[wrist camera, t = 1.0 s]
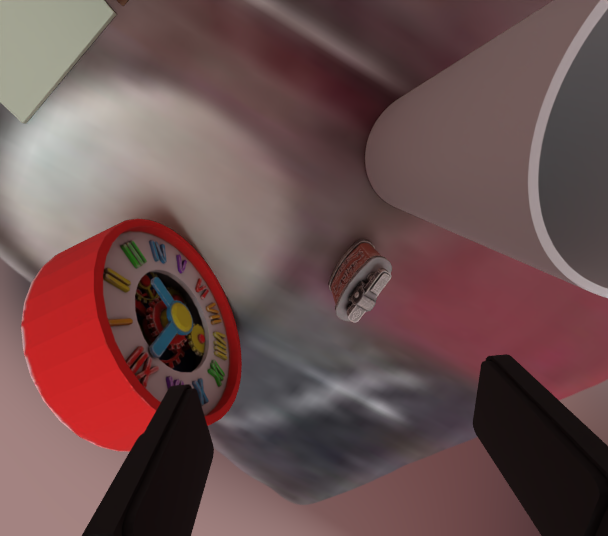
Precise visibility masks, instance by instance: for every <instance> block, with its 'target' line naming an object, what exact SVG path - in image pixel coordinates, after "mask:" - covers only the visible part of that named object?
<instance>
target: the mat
mask: <svg viewBox="0 0 608 536" xmlns="http://www.w3.org/2000/svg"><path fill="white" fill-rule="evenodd" d="M116 15H117V14H116V13H115V12H114V11H113V10H112V9H111V7H110V6H109V5H108V4H107V3H106V1H105V0H0V102H1V103H2V104H3V105H4V106H5V107H6V108H7V109H8V110H9V111H10V112H11V113H12V114H13V115H14V116H15V117H17V118H18V119H19V120H20V121H21V122H22V123H25V124H26V123H27V122H28V121H29V119H30V118H31V117H32V116H33V114H34V113H35V112H36V111H37V110H38V108H39V107H40V106H41V105H42V104H43V102H44V101H45V100H46V99H47V98H48V96H49V95H50V94H51V93H52V92H53V90H54V89H55V88H56V87H57V86H58V84H59V83H60V82H61V81H62V80H63V78H64V77H65V76H66V75H67V74H68V72H69V71H70V70H71V69H72V68H73V66H74V65H75V64H76V63H77V61H78V60H79V59H80V58H81V57H82V55H83V54H84V53H85V52H86V51H87V49H88V48H89V47H90V46H91V45H92V43H93V42H94V41H95V40H96V39H97V37H98V36H99V35H100V34H101V33H102V31H103V30H104V29H105V28H106V27H107V25H108V24H109V23H110V22H111V21H112V19H113V18H114V17H115V16H116Z"/></svg>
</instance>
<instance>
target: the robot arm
mask: <svg viewBox="0 0 608 536" xmlns="http://www.w3.org/2000/svg"><path fill="white" fill-rule="evenodd" d="M473 427H474V430H475V433H476V435H477V436H478V438H479V439H480V441H481V442H482V444H483V445H484V447H485V449H486V450H487V452H488V453H489V455H490V456H491V458H492V459H493V461H494V463H495V464H496V466H497V467H498V468H499V470H500V472H501V473H502V475H503V476H504V478H505V480H506V481H507V483H508V484H509V486H510V487H511V489H512V490H513V492H514V493H515V495H516V497H517V498H518V500H519V501H520V503H521V504H522V506H523V507H524V509H525V511H526V512H527V514H528V515H529V517H530V518H531V520H532V521H533V523H534V525H535V526H536V528H537V529H538V531H539V532H540V534H541V535H542V536H608V446H607V445H606V444H605V443H604V442H603V441H602V440H601V439H599V437H597V436H596V435H595V434H594V433H593V432H592V431H591V430H590V429H589V428H588V427H587V426H586V425H584V424H583V423H582V422H581V421H580V420H579V419H578V418H577V417H576V416H575V415H574V414H573V413H572V412H571V411H569V410H568V409H567V408H566V407H565V406H564V405H563V404H562V403H561V402H560V401H559V400H558V399H557V398H555V397H554V396H553V395H552V394H551V393H550V392H549V391H548V390H547V389H546V388H545V387H544V386H543V385H541V384H540V383H539V382H538V381H537V380H536V379H535V378H534V377H533V376H532V375H531V374H530V373H529V372H527V371H526V370H525V369H524V368H523V367H522V366H521V365H520V364H519V363H518V362H517V361H516V360H515V359H513V358H512V357H511V356H510V355H507V354H506V355H496V356H488V357H487V358H486V361H484V362H482V364H481V370H480V377H479V384H478V390H477V397H476V404H475V411H474V418H473ZM213 451H214V448H213V443H212V440H211V436H210V433H209V430H208V426H207V423H206V419H205V416H204V412H203V409H202V406H201V402H200V399H199V395H198V392H197V390H196V389H195V388H193V389H192V387H191V385H190V384H186V385H175V386H171V387H170V388H169V389H168V391H167V392H166V394H165V396H164V398H163V400H162V401H161V403H160V405H159V407H158V409H157V410H156V412H155V414H154V416H153V417H152V419H151V421H150V423H149V425H148V426H147V428H146V430H145V432H144V433H143V434H141V435H140V436H139V437H138V439H137V440H136V442H135V444H134V445H133V447H132V449H131V451H130V452H129V454H128V456H127V458H126V459H125V461H124V463H123V465H122V466H121V468H120V470H119V472H118V473H117V475H116V477H115V479H114V480H113V482H112V484H111V485H110V487H109V489H108V491H107V492H106V494H105V496H104V498H103V500H102V501H101V503H100V505H99V506H98V508H97V510H96V512H95V513H94V515H93V517H92V519H91V521H90V522H89V524H88V526H87V527H86V529H85V531H84V533H83V534H82V536H191V533H192V529H193V526H194V523H195V519H196V515H197V512H198V508H199V505H200V501H201V498H202V494H203V491H204V487H205V483H206V480H207V476H208V473H209V470H210V466H211V463H212V459H213V453H214V452H213Z"/></svg>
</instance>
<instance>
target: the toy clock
mask: <svg viewBox="0 0 608 536" xmlns="http://www.w3.org/2000/svg"><path fill="white" fill-rule="evenodd" d="M21 329H22V340H23V352H24V355H25V358H26V362H27V365H28V368H29V372H30V375H31V378H32V380H33V382H34V384H35V385H36V387H37V389H38V391H39V393H40V395H41V397H42V399H43V401H44V402H45V403H46V404H47V406H48V407H49V408H50V409H51V411H52V412H53V413H54V414H55V415H56V417H57V418H58V419H59V420H60V421H61V422H62V423H63V424H64V425H65V426H67V427H68V428H69V429H70V430H72V431H73V432H74V433H75V434H76V435H78V436H79V437H81V438H83V439H85V440H87V441H89V442H91V443H93V444H95V445H97V446H99V447H102V448H107V449H111V450H115V451H131V449H132V447H133V445H134V444H135V442H136V440H137V439H138V437H139V436H140V435H141V434H143V433H144V432H145V430H146V428H147V426H148V425H149V423H150V421H151V419H152V417H153V416H154V414H155V412H156V410H157V409H158V407H159V405H160V403H161V401H162V400H163V398H164V396H165V394H166V392H167V391H168V389H169V388H170V387H171V386H175V385H186V384H190V385H191V387H192V389H193V388H195V389H196V390H197V392H198V395H199V399H200V402H201V406H202V409H203V412H204V416H205V419H206V423H207V426H208V425H210V424H212V423H214V422H216V421H218V420H219V419H221V418H222V417H223V416H224V415H225V414H226V413H227V412H228V411H229V409H230V408H231V406H232V404H233V402H234V401H235V398H236V395H237V392H238V389H239V384H240V379H241V365H242V363H241V348H240V341H239V335H238V331H237V326H236V323H235V320H234V316H233V313H232V310H231V308H230V305H229V303H228V300H227V298H226V296H225V294H224V292H223V289H222V287H221V286H220V284H219V282H218V280H217V278H216V277H215V275H214V274H213V272H212V271H211V269H210V268H209V266H208V265H207V263H206V262H205V261H204V259H203V258H202V257H201V256H200V254H199V253H198V252H197V251H196V250H195V249H194V248H193V247H192V246H191V245H190V244H189V243H188V242H187V241H186V240H185V239H184V238H182V237H181V236H180V235H178V234H177V233H176V232H174V231H173V230H171V229H170V228H168V227H166V226H164V225H162V224H160V223H157V222H154V221H151V220H145V219H132V220H126V221H123V222H121V223H119V224H117V225H115V226H113V227H111V228H109V229H107V230H105V231H103V232H101V233H99V234H97V235H95V236H93V237H91V238H89V239H87V240H85V241H83V242H81V243H79V244H77V245H75V246H73V247H71V248H69V249H67V250H65V251H63V252H61V253H59V254H57V255H55V256H54V257H53V258H52V259H51V260H50V261H49V262H47V263H46V264H45V265H44V266H43V267H42V268H41V270H40V271H39V273H38V274H37V276H36V277H35V279H34V280H33V282H32V283H31V286H30V288H29V291H28V294H27V297H26V299H25V302H24V309H23V316H22V324H21Z"/></svg>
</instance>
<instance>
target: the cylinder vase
mask: <svg viewBox="0 0 608 536" xmlns="http://www.w3.org/2000/svg"><path fill="white" fill-rule="evenodd" d="M365 166H366V172H367V176H368V179H369V181H370V183H371V185H372V187H373V189H374V190H375V192H376V193H377V194H378V195H379V197H380V198H382V199H383V200H384V201H385V202H387V203H388V204H390V205H391V206H393V207H396V208H398V209H400V210H403V211H405V212H407V213H409V214H412V215H414V216H416V217H419V218H421V219H423V220H426V221H428V222H430V223H433V224H435V225H437V226H440V227H442V228H444V229H446V230H449V231H451V232H453V233H456V234H458V235H460V236H463V237H465V238H467V239H470V240H472V241H474V242H476V243H479V244H481V245H483V246H486V247H488V248H490V249H493V250H495V251H497V252H500V253H502V254H504V255H506V256H509V257H511V258H513V259H516V260H518V261H520V262H523V263H525V264H527V265H530V266H532V267H534V268H537V269H539V270H541V271H543V272H546V273H548V274H550V275H553V276H555V277H557V278H560V279H562V280H564V281H567V282H569V283H571V284H573V285H576V286H578V287H580V288H583V289H585V290H587V291H590V292H592V293H594V294H597V295H600V296H603V297H606V298H608V0H554V1H552V2H551V3H549V4H547V5H546V6H544V7H543V8H541V9H540V10H538V11H536V12H535V13H533V14H532V15H530V16H528V17H527V18H525V19H524V20H522V21H521V22H519V23H517V24H516V25H514V26H513V27H511V28H509V29H508V30H506V31H505V32H503V33H502V34H500V35H498V36H497V37H495V38H494V39H492V40H491V41H489V42H487V43H486V44H484V45H483V46H481V47H479V48H478V49H476V50H475V51H473V52H472V53H470V54H468V55H467V56H465V57H464V58H462V59H461V60H459V61H457V62H456V63H454V64H453V65H451V66H449V67H448V68H446V69H445V70H443V71H442V72H440V73H438V74H437V75H435V76H434V77H432V78H431V79H429V80H427V81H426V82H424V83H423V84H421V85H419V86H418V87H416V88H415V89H413V90H412V91H410V92H408V93H407V94H405V95H404V96H402V97H400V98H399V99H397V100H396V101H394V102H393V103H392V104H391V105H390V106H388V107H387V108H386V109H385V110H384V111H383V113H382V114H381V115H380V116H379V118H378V119H377V121H376V122H375V124H374V126H373V128H372V130H371V132H370V135H369V137H368V141H367V145H366V151H365Z"/></svg>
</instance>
